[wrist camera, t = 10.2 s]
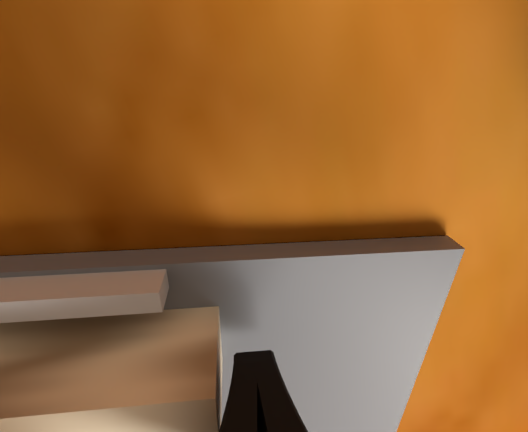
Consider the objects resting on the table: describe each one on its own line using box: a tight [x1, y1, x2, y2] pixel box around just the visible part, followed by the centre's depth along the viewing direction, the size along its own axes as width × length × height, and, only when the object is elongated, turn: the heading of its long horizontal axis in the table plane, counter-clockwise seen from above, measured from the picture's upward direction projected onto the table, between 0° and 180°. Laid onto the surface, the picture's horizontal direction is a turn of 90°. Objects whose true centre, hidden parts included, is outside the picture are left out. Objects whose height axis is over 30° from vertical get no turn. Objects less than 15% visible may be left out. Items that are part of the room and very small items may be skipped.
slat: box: [0, 306, 222, 432], centre depth 10 cm, size 12×3×4 cm, turn 89°
